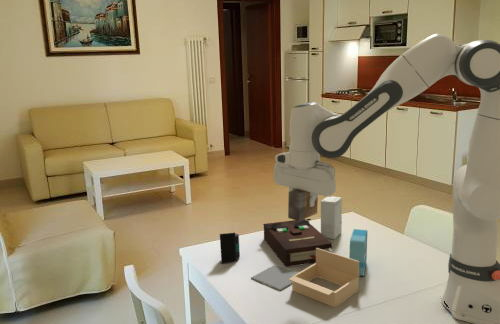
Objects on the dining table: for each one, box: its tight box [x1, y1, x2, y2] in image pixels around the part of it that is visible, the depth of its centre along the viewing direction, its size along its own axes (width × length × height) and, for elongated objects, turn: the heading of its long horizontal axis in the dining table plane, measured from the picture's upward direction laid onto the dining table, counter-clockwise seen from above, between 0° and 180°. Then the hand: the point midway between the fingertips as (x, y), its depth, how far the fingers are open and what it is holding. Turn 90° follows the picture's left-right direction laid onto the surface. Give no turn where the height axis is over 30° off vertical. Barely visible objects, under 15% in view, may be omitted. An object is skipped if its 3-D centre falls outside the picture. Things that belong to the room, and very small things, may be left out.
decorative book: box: [262, 218, 334, 268], centre depth 168 cm, size 19×8×30 cm
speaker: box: [219, 232, 241, 265], centre depth 161 cm, size 8×6×10 cm
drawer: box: [289, 248, 360, 308], centre depth 137 cm, size 15×15×10 cm
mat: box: [250, 264, 298, 292], centre depth 147 cm, size 12×12×1 cm
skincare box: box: [320, 195, 343, 240], centre depth 179 cm, size 8×6×15 cm
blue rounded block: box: [348, 228, 368, 277], centre depth 151 cm, size 12×4×12 cm, turn 162°
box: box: [287, 189, 319, 221], centre depth 136 cm, size 4×9×8 cm, turn 137°
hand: (303, 204), depth 137 cm, fingers closed on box, 4 cm apart
